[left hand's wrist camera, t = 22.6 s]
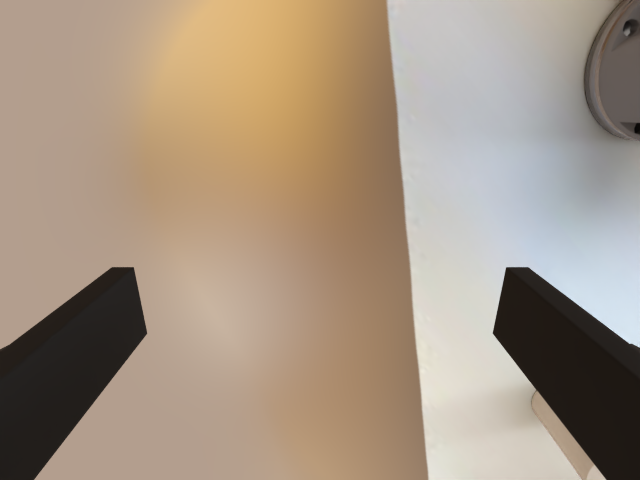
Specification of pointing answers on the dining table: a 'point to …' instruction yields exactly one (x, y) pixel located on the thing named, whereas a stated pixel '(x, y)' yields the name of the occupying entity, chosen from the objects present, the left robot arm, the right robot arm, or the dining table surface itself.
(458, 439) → the dining table surface
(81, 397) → the left robot arm
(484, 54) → the dining table surface
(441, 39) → the dining table surface
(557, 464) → the dining table surface
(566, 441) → the canister
